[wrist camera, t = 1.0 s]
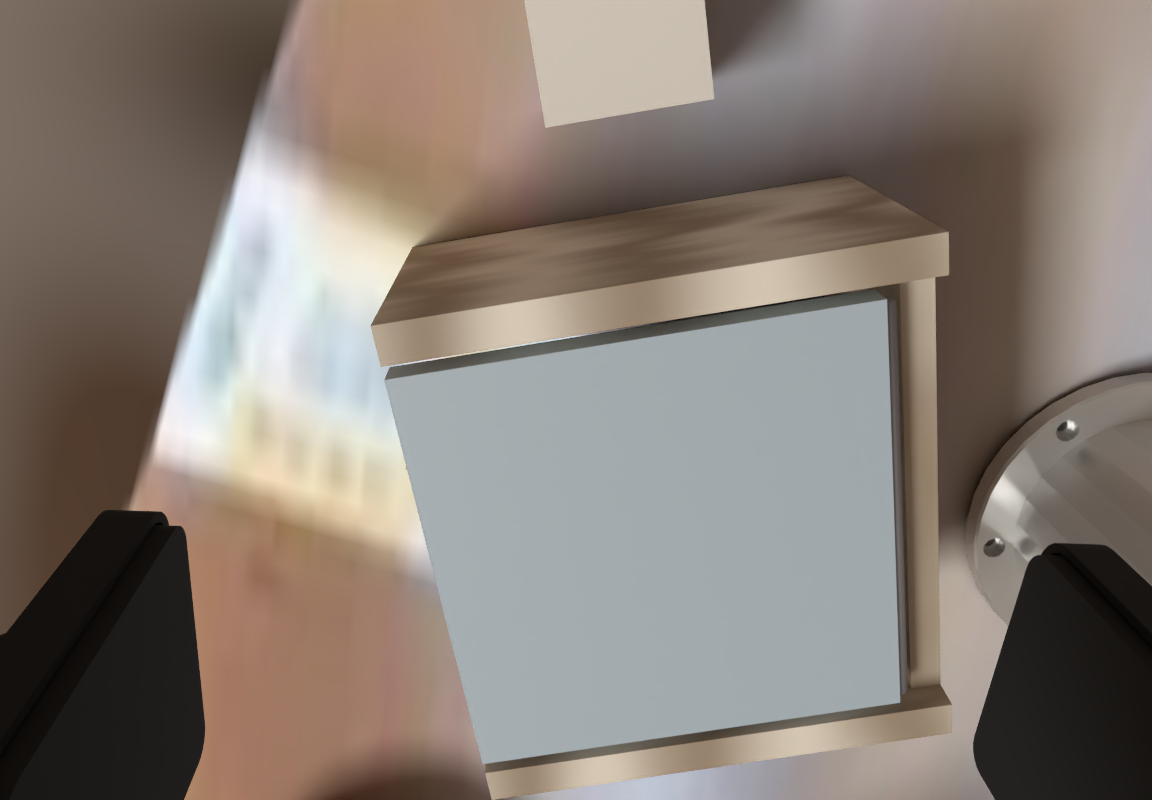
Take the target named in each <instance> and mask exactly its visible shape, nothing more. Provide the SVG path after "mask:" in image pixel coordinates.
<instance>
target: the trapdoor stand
mask: <svg viewBox="0 0 1152 800" xmlns="http://www.w3.org/2000/svg"><path fill="white" fill-rule="evenodd" d="M947 275H949V232H948V231H946V230H945V229H943V228H941V227H939V226H938V225H936V224H934V223H932V222H930V221H929V220H927V219H925V218H923V217H922V216H920V215H918V214H916V213H915V212H913V211H911V210H909V209H907V208H906V207H904V206H902V205H900V204H899V203H897V202H895V201H893V200H892V199H890V198H888V197H886V196H884V195H883V194H881V193H879V192H877V191H876V190H874V189H872V188H870V187H869V186H867V185H865V184H863V183H861V182H860V181H858V180H856V179H854V178H853V177H851V176H849V175H848V176H842V177H836V178H830V179H824V180H817V181H811V182H805V183H799V184H793V185H787V186H781V187H775V188H769V189H763V190H757V191H751V192H745V193H739V194H733V195H727V196H721V197H715V198H709V199H702V200H696V201H690V202H684V203H678V204H672V205H666V206H660V207H654V208H648V209H642V210H636V211H630V212H624V213H618V214H612V215H606V216H600V217H594V218H587V219H581V220H575V221H569V222H563V223H557V224H551V225H545V226H539V227H533V228H527V229H521V230H515V231H509V232H503V233H497V234H491V235H485V236H479V237H472V238H466V239H460V240H454V241H448V242H442V243H436V244H430V245H424V246H418V247H413V248H412V249H411V251H410V253H409V255H408V257H407V259H406V261H405V263H404V264H403V266H402V268H401V270H400V272H399V274H398V276H397V278H396V279H395V281H394V283H393V285H392V287H391V289H390V291H389V293H388V294H387V296H386V298H385V300H384V302H383V304H382V306H381V307H380V309H379V311H378V313H377V315H376V317H375V319H374V321H373V322H372V324H371V329H372V333H373V337H374V341H375V345H376V349H377V353H378V357H379V361H380V365H381V367H383V366H389V365H395V364H401V363H408V362H414V361H420V360H426V359H432V358H439V357H445V356H451V355H457V354H463V353H470V352H476V351H482V350H488V349H494V348H501V347H507V346H513V345H519V344H525V343H532V342H538V341H544V340H550V339H556V338H563V337H569V336H575V335H581V334H587V333H594V332H600V331H606V330H612V329H618V328H625V327H631V326H637V325H643V324H649V323H656V322H662V321H668V320H674V319H680V318H687V317H693V316H699V315H705V314H711V313H718V312H724V311H730V310H736V309H742V308H749V307H755V306H761V305H767V304H773V303H779V302H786V301H792V300H798V299H804V298H810V297H817V296H823V295H827V297H829V296H835V295H842V294H848V293H854V292H860V291H866V290H873V289H876V290H877V291H878V292H879V293H880V294H882V295H883V296H889V297H894V298H895V299H896V305H897V339H898V373H899V408H900V442H901V476H902V511H903V545H904V579H905V613H906V648H907V682H908V690H907V692H906V693H905V694H904V695H901V696H900V703H895V704H888V705H881V706H874V707H868V708H861V709H854V710H847V711H840V712H834V713H827V714H820V715H813V716H806V717H800V718H793V719H786V720H779V721H773V722H766V723H759V724H752V725H745V726H739V727H732V728H725V729H718V730H711V731H705V732H698V733H691V734H684V735H678V736H671V737H664V738H657V739H650V740H644V741H637V742H630V743H623V744H616V745H610V746H603V747H596V748H589V749H583V750H576V751H569V752H562V753H555V754H549V755H542V756H535V757H528V758H521V759H515V760H508V761H501V762H494V763H488V764H486V766H485V776H486V779H487V783H488V787H489V791H490V795H491V799H492V800H495V799H502V798H509V797H516V796H523V795H529V794H536V793H543V792H550V791H557V790H564V789H571V788H577V787H584V786H591V785H598V784H605V783H612V782H618V781H625V780H632V779H639V778H646V777H653V776H660V775H666V774H673V773H680V772H687V771H694V770H701V769H707V768H714V767H721V766H728V765H735V764H742V763H749V762H755V761H762V760H769V759H776V758H783V757H790V756H796V755H803V754H810V753H817V752H824V751H831V750H838V749H844V748H851V747H858V746H865V745H872V744H879V743H885V742H892V741H899V740H906V739H913V738H920V737H926V736H933V735H940V734H947V733H952V704H951V702H950V700H949V699H948V697H947V695H946V694H945V692H944V690H943V688H942V687H941V685H940V617H939V537H938V458H937V378H936V298H935V277H941V276H947Z"/></svg>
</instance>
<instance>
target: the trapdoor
mask: <svg viewBox="0 0 1152 800" xmlns="http://www.w3.org/2000/svg"><path fill="white" fill-rule="evenodd" d="M385 384H386V388H387V392H388V396H389V400H390V404H391V408H392V412H393V416H394V419H395V423H396V427H397V431H398V435H399V439H400V443H401V447H402V451H403V455H404V459H405V462H406V466H407V470H408V474H409V478H410V482H411V486H412V490H413V494H414V498H415V502H416V506H417V509H418V513H419V517H420V521H421V525H422V529H423V533H424V537H425V541H426V545H427V549H428V552H429V556H430V560H431V564H432V568H433V572H434V576H435V580H436V584H437V588H438V592H439V596H440V599H441V603H442V607H443V611H444V615H445V619H446V623H447V627H448V631H449V635H450V639H451V642H452V646H453V650H454V654H455V658H456V662H457V666H458V670H459V674H460V678H461V682H462V686H463V689H464V693H465V697H466V701H467V705H468V709H469V713H470V717H471V721H472V725H473V729H474V732H475V736H476V740H477V744H478V748H479V752H480V756H481V760H482V764H488V763H494V762H501V761H508V760H515V759H521V758H528V757H535V756H542V755H549V754H555V753H562V752H569V751H576V750H583V749H589V748H596V747H603V746H610V745H616V744H623V743H630V742H637V741H644V740H650V739H657V738H664V737H671V736H678V735H684V734H691V733H698V732H705V731H711V730H718V729H725V728H732V727H739V726H745V725H752V724H759V723H766V722H773V721H779V720H786V719H793V718H800V717H806V716H813V715H820V714H827V713H834V712H840V711H847V710H854V709H861V708H868V707H874V706H881V705H888V704H895V703H900V696H901V695H904V694H905V693H906V692H907V690H908V682H907V648H906V613H905V579H904V545H903V511H902V476H901V442H900V408H899V373H898V339H897V305H896V299H895V298H894V297H889V296H883V295H882V294H880V293H879V292H878V291H877V290H876V289H873V290H866V291H860V292H854V293H848V294H842V295H835V296H829V297H823V298H817V299H811V300H804V301H798V302H792V303H786V304H780V305H773V306H767V307H761V308H755V309H749V310H742V311H736V312H730V313H724V314H718V315H711V316H705V317H699V318H693V319H687V320H680V321H674V322H668V323H662V324H656V325H649V326H643V327H637V328H631V329H625V330H618V331H612V332H606V333H600V334H594V335H587V336H581V337H575V338H569V339H563V340H556V341H550V342H544V343H538V344H532V345H525V346H519V347H513V348H507V349H501V350H494V351H488V352H482V353H476V354H470V355H463V356H457V357H451V358H445V359H439V360H432V361H426V362H420V363H414V364H408V365H401V366H395V367H390V368H389V370H388V373H387V375H386V378H385Z"/></svg>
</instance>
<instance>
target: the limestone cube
mask: <svg viewBox="0 0 1152 800" xmlns="http://www.w3.org/2000/svg"><path fill="white" fill-rule="evenodd" d="M524 2H525V8H526V14H527V20H528V26H529V32H530V38H531V44H532V50H533V55H534V61H535V67H536V73H537V79H538V85H539V91H540V97H541V103H542V109H543V115H544V121H545V127H552V126H558V125H564V124H570V123H576V122H582V121H588V120H594V119H600V118H606V117H611V116H617V115H623V114H629V113H635V112H641V111H647V110H653V109H659V108H665V107H670V106H676V105H682V104H688V103H694V102H700V101H706V100H712V99H714V91H713V81H712V71H711V61H710V50H709V40H708V30H707V20H706V10H705V0H524Z"/></svg>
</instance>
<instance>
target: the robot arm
mask: <svg viewBox="0 0 1152 800" xmlns="http://www.w3.org/2000/svg"><path fill="white" fill-rule="evenodd" d="M966 551H967V557H968V562H969V568H970V571H971V573H972V575H973V578H974V580H975V582H976V585H977V587H978V589H979V591H980V592H981V594H982V595H983V596H984V598H985V599H986V601H987V602H988V603H989V605H990V606H991V608H992V609H993V611H994V612H995V613H996V614H997V615H998V616H999V617H1000V618H1001V619H1002V620H1003V621H1004V622H1005V623H1006V624H1007V625H1008V629H1007V633H1006V636H1005V639H1004V642H1003V645H1002V649H1001V652H1000V655H999V658H998V662H997V665H996V668H995V671H994V675H993V678H992V681H991V684H990V688H989V691H988V694H987V697H986V701H985V704H984V707H983V710H982V714H981V717H980V720H979V723H978V727H977V730H976V733H975V737H974V742H973V751H974V759H975V762H976V766H977V768H978V771H979V773H980V775H981V776H982V778H983V780H984V781H985V783H986V785H987V787H988V788H989V790H990V792H991V793H992V795H993V797H994V798H995V800H1152V373H1140V374H1133V375H1127V376H1121V377H1114V378H1111V379H1108V380H1105V381H1102V382H1099V383H1096V384H1093V385H1090V386H1087V387H1083V388H1081V389H1079V390H1077V391H1075V392H1073V393H1071V394H1069V395H1068V396H1066V397H1064V398H1062V399H1060V400H1058V401H1056V402H1054V403H1052V404H1051V405H1050V406H1048V407H1047V408H1045V409H1044V410H1043V411H1041V412H1040V413H1038V414H1037V415H1036V416H1034V417H1033V418H1032V419H1030V420H1029V421H1027V422H1026V423H1025V424H1024V425H1023V426H1022V427H1021V428H1020V429H1019V430H1018V431H1017V432H1016V433H1015V434H1014V435H1013V436H1012V437H1011V438H1010V439H1009V440H1008V441H1007V442H1006V443H1005V444H1004V445H1003V447H1002V448H1001V449H1000V451H999V452H998V454H997V455H996V456H995V458H994V459H993V460H992V462H991V463H990V465H989V466H988V467H987V469H986V471H985V473H984V475H983V477H982V479H981V481H980V483H979V485H978V487H977V489H976V491H975V493H974V496H973V500H972V504H971V507H970V511H969V515H968V518H967V529H966ZM204 737H205V720H204V710H203V700H202V690H201V680H200V670H199V660H198V650H197V640H196V630H195V620H194V610H193V601H192V591H191V581H190V571H189V561H188V551H187V541H186V535H185V532H184V529H183V528H182V527H181V526H169V523H168V520H167V518H166V516H165V514H163V513H162V512H153V511H125V510H105V511H103V512H102V513H101V514H100V515H99V516H98V517H97V518H96V519H95V521H94V522H93V524H92V525H91V526H90V527H89V529H88V530H87V531H86V532H85V533H84V535H83V536H82V537H81V539H80V540H79V541H78V542H77V544H76V545H75V546H74V548H73V549H72V550H71V551H70V553H69V554H68V555H67V557H66V558H65V559H64V560H63V561H62V563H61V564H60V565H59V567H58V568H57V569H56V570H55V572H54V573H53V574H52V575H51V577H50V578H49V579H48V581H47V582H46V583H45V584H44V586H43V587H42V588H41V590H40V591H39V592H38V594H37V595H36V596H35V597H34V598H33V600H32V601H31V602H30V604H29V605H28V606H27V607H26V609H25V610H24V611H23V613H22V614H21V615H20V616H19V617H18V619H17V620H16V621H15V623H14V624H13V625H12V626H11V628H10V629H9V630H8V631H7V633H5V634H2V635H0V800H184V798H185V796H186V793H187V791H188V788H189V786H190V783H191V781H192V778H193V776H194V773H195V771H196V768H197V766H198V764H199V761H200V758H201V754H202V750H203V745H204Z"/></svg>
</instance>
